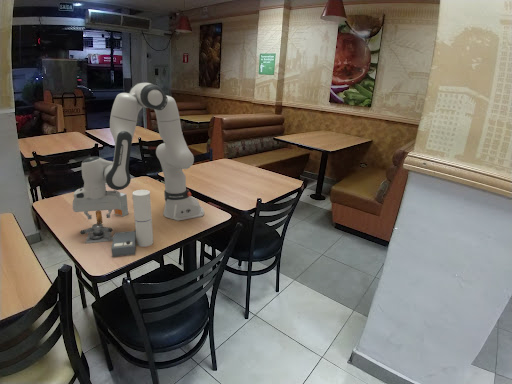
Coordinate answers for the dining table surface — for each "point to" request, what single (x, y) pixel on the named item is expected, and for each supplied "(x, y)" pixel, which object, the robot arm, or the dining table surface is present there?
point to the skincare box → (122, 206)
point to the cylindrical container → (143, 217)
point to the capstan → (97, 228)
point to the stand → (118, 242)
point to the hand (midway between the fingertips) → (99, 218)
